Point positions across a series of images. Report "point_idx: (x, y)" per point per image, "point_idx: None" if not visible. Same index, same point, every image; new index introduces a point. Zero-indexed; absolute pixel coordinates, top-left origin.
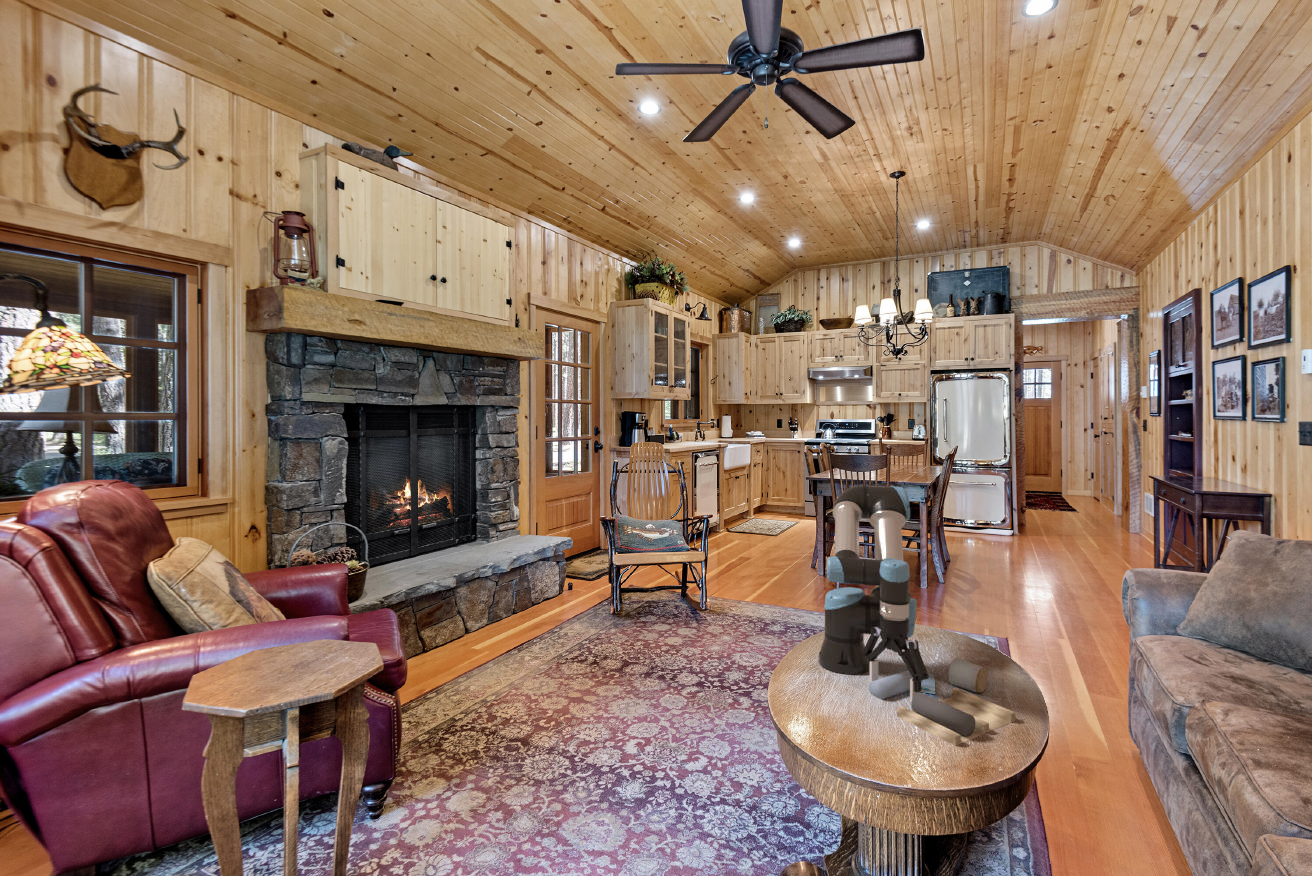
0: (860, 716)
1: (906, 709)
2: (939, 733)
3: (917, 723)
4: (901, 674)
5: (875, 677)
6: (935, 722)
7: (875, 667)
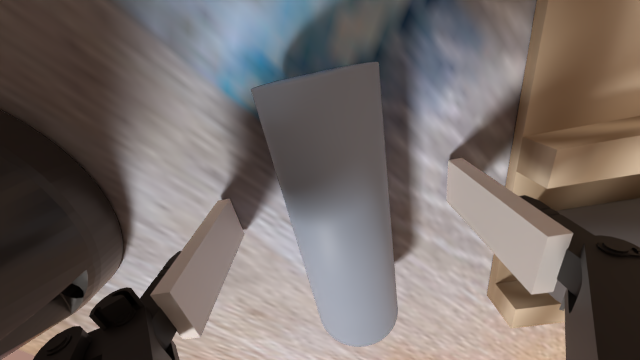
0: (418, 354)
1: (541, 311)
2: None
3: None
4: (340, 195)
5: (225, 232)
6: None
7: (203, 276)
